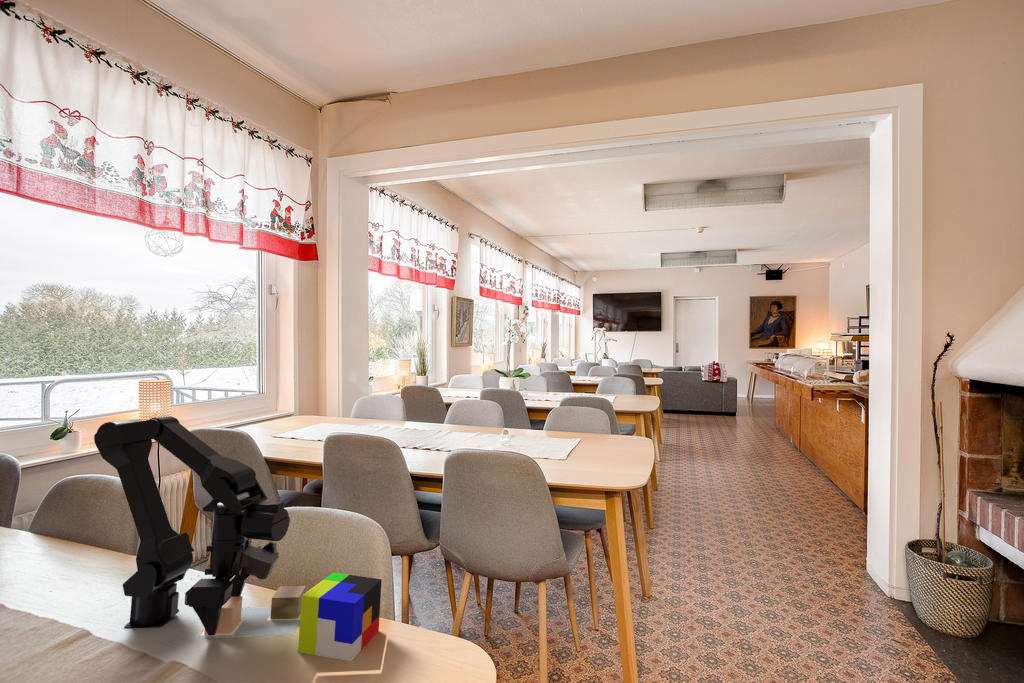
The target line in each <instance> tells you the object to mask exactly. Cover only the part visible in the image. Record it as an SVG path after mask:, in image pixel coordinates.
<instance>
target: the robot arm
mask: <svg viewBox="0 0 1024 683" xmlns="http://www.w3.org/2000/svg"><path fill="white" fill-rule="evenodd" d="M93 436H94V437H93V441H94V444H95V446H96V448H97V450H98V452H99V454H100V456H101V459H103V460H104V461H105V462H107V463H108V464H110V465H111V466H112V467H113V468H114V469H116V471H117V474H118V478H119V479H120V482H121V486H122V489H123V491H124V495H125V499H126V502H127V503H128V508H129V510H130V513H131V516H132V520H133V522H134V525H135V529H136V531H137V534H138V537H139V540H140V542H139V545H138V549H137V553H136V556H135V564H136V569H137V570H136V571H135V572H134V573H133V574H132V575H131V576H130V577H129V578H128V579H126V581H124V582H123V583H122V590H123V593H124V596H126V597H131V602H130V603H131V604H130V612H129V613H130V614H129V622H127V624H124V626H123V629H149V628H150V629H151V628H153V629H154V628H162V627H164V626H165V625H166V624H167V623H168V622H169V621H170V620H171V619H173V618H174V617H175V616H176V615H177V614H178V613H179V612H180V609H179V598H180V592H179V591H177V587H178V582H179V581H182V580H184V577H185V575H186V573H187V572H188V571H189V569H190V568H191V566H192V563H193V562H194V556H193V555H194V554H193V553H194V552H195V549H194V548H193V546H192V544H191V542H190V541H191V540H190V536H189V534H188V533H187V531H184V532H182V533H178V532H177V531H176V530H174V529H173V528H172V526H171V523H170V521H169V517H168V514H167V512H166V508H165V506H164V502H163V500H162V497H161V494H160V490H159V488H158V485H157V481H156V479H155V476H154V474H153V471H152V467H151V465H150V461H149V457H150V454H151V451H152V446H153V440H154V441H155V442H156V443H158V444H159V445H160V446H161V447H163V448H164V449H165V450H166V451H168V452H169V453H170V454H171V455H173V457H175V458H177V459H178V460H179V461H180V462H181V463H183V464H184V465H185V466H186V467H188V468H189V469H190V470H191V471H193V472H194V473H195V474H196V475H197V476H198V477H199V480H200V483H201V487H202V488H203V490H204V491H205V492H206V493H207V494H208V495H209V496H210V497H211V498H212V499H211V501H210V502H209V503H207V504H206V505H205V506H204V507H202V511H203V512H208V513H213V517H212V529H211V540H210V541H211V542H210V543H208V544H207V546H206V548H205V549H206V550H205V551H206V552H207V553H208V552H209V553H210V556H209V557H210V558H209V565H208V566H207V567H206V568H205V569H204V576H210V575H211V576H212V577H213V578H200V579H199V580H198V581H196V582H195V584H193V585H192V586H191V587H190V588H189V589H188V590H186V592H184V593H185V594H184V605H185V606H188V607H190V608H192V609H193V610H194V612H195V614H196V615H197V616H198V618H199V620H200V622H201V624H202V626H203V629H204V628H205V630H206V632H207V634H208V635H215V634H216V631H217V627H218V623H219V619H220V614H221V610H222V606H223V605H224V604H225V603H226V602H227V601H228V600H229V599H230V598H231V597H241V596H242V594H243V590H244V587H245V585H246V582H247V579H248V578H249V577H250V576H254V577H256V578H257V579H259V580H267V578H269V575H270V574H271V573H272V572H273V569H274V567H275V566H276V563H277V561H278V560H279V558H280V557H279V554H280V553H279V552H278V548H277V546H278V545H277V543H276V542H280V541H282V540H283V539H284V537H285V536H286V534H287V533H288V529H289V526H290V522H291V517H290V516H289V515H290V514H289V511H288V510H287V509H286V508H285V502H284V501H274V502H273V501H267V500H268V497H267V495H266V493H265V492H264V490H263V488H262V486H261V485H260V483H259V481H258V479H257V474H256V471H255V470H254V469H253V468H252V467H250V466H249V465H247V464H246V463H245V464H244V463H243V462H240V461H239V460H236V459H233V458H229V457H227V456H226V457H225V456H223V455H221V454H219V452H217V451H215V449H213V448H212V447H211V446H210V445H208V444H207V443H205V441H203V440H202V439H200V438H199V437H198V436H197V435H196V434H194V433H192V431H190V430H189V429H188V428H186V427H185V426H184V425H183V424H181V423H180V420H179V419H178V418H176V417H175V416H170V415H168V416H167V415H166V416H158V417H151V418H150V419H145V420H142V419H139V418H134V419H133V418H132V419H124V420H116V421H113V420H112V421H107V422H104V423H102V424H101V425H100V426H99V427H98V429H97V430H96V432H95V434H94V435H93ZM244 496H247V497H244ZM242 497H244V498H242ZM252 540H259V541H266V542H267V541H268V542H267V543H265V545H263V546H260V545H259V546H257V547H256V546H254V545H252Z"/></svg>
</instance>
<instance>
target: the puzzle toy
mask: <svg viewBox="0 0 1024 683" xmlns="http://www.w3.org/2000/svg"><path fill="white" fill-rule="evenodd" d="M382 581H383V580H382V579H381V578H374V577H368V576H360V575H353V574H347V573H339V572H332V573H331V574H330V575H328V576H327V577H325V578H324V579H322V580H321V581H320V582H318V583H317V584H316V585H314V586H313V587H311V588H310V589H309V590H307V591H305V593H304V594H303V595H302V600H301V615H300V622H299V634H298V646H297V652H298V653H303V654H307V655H308V654H309V655H312V656H318V657H319V656H320V657H324V658H329V659H330V658H331V659H335V660H341V661H346V662H352V661H353V660H354V659H355V658H356V657H357V656H358V655H359V653H360V652H361V651H363V649H364V648H365V646H367V644H368V643H370V641H371V640H372V639H373V638H374V637H375V635H376V634H377V633H378V632H379V630H380V614H381V613H380V612H381V611H380V610H381V596H382Z"/></svg>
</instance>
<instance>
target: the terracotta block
mask: <svg viewBox="0 0 1024 683" xmlns="http://www.w3.org/2000/svg"><path fill="white" fill-rule="evenodd" d="M242 608H243V596H242V595H241V597H231V598H230V599H229V600H228V601H227V602H226V603H225V604H224V605H223V606H222V610H221V614H220V619H219V623H218V627H217V631H216V634H226V633H232V631H233V630H234V629H235V627H236V626H237V625H238V624H239V622H240V621H241V610H242ZM204 634H207V632H206V630H205V631H204Z"/></svg>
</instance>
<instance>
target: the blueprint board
mask: <svg viewBox="0 0 1024 683" xmlns="http://www.w3.org/2000/svg"><path fill="white" fill-rule="evenodd" d="M300 615H301V613H300ZM300 615H299V617H298V618H294V619H270V617H271V606H259V607H258V606H257V607H254V606H253V607H242V610H241V621H240V622H239V624H238V625H237V626H236V627H235V629H234V630H233V631H232V633H226V634H215V635H208V634H204V631H205V628H204V627H203V629H202V630H200V632H199V633H198V635H196V637H195V639H216V638H217V639H218V638H219V639H223V638H243V637H245V638H246V637H248V638H249V637H252V638H253V637H276V636H277V637H279V636H280V637H281V636H282V637H283V636H293V635H294V634H295V631H296V630H297V628H298V625H300Z"/></svg>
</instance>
